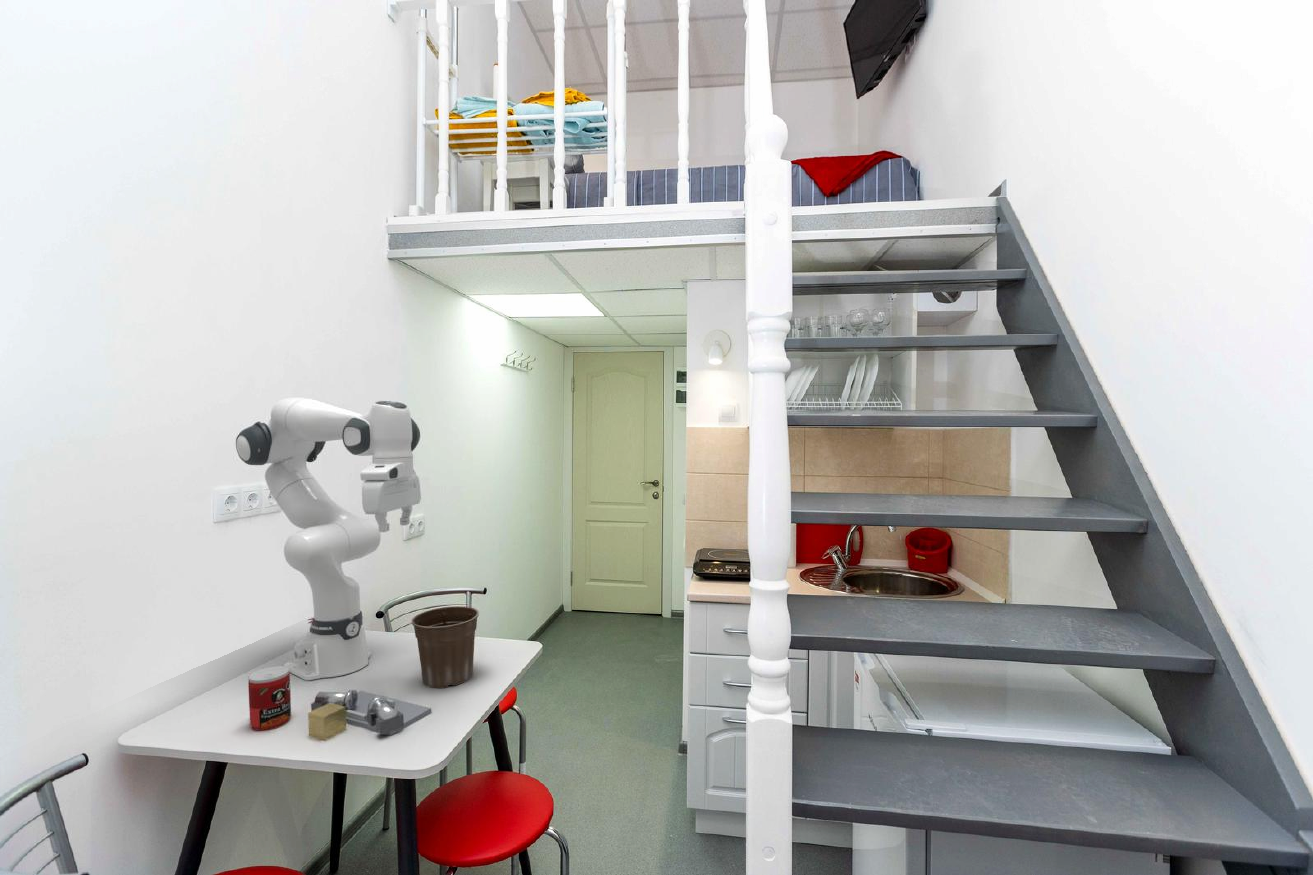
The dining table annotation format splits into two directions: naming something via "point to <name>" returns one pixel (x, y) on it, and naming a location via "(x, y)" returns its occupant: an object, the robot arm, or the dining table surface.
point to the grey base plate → (408, 710)
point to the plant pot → (446, 644)
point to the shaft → (336, 699)
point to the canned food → (269, 698)
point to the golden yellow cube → (327, 721)
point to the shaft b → (383, 715)
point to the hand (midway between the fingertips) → (394, 528)
